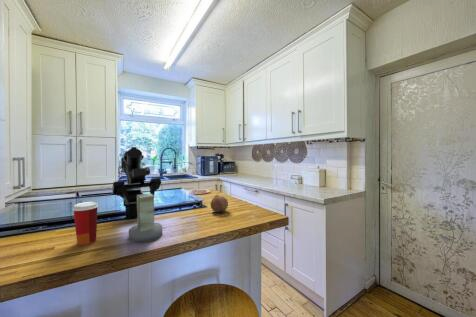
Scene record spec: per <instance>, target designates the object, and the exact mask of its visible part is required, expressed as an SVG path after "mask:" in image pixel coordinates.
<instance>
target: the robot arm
mask: <svg viewBox="0 0 476 317" xmlns="http://www.w3.org/2000/svg"><path fill="white" fill-rule="evenodd" d="M122 156H123V157H121V159H120V160H121V162H120V163H121V170H122V171H123V173H124V174H125V175H126V183H125V181H124V180H122V181H121V180H120V181H119V180H118V181H117V180H116V181H113V182H112V190H111V192H112V195H116V196H117V197H118V196H119V197H121V199H123V207H125V216H124V219H137V195H141V194H144V192H143V191H142V189H141V188H148V187H149V193H151V194H152V195H154V196H155V192H157V190H159V189H160V186H161V184H162V179H161V178H160V177H153V178H150V179H149V181H146V176H149V175H151V169H150V167H148V166H146V167H141V164H142V161H143V159H144V155H143V152H142V151H141V150H140V149H138V148H137V146H131V148H130V149H129V150H125V152H124V153H123V155H122ZM145 181H146V182H145Z"/></svg>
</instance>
